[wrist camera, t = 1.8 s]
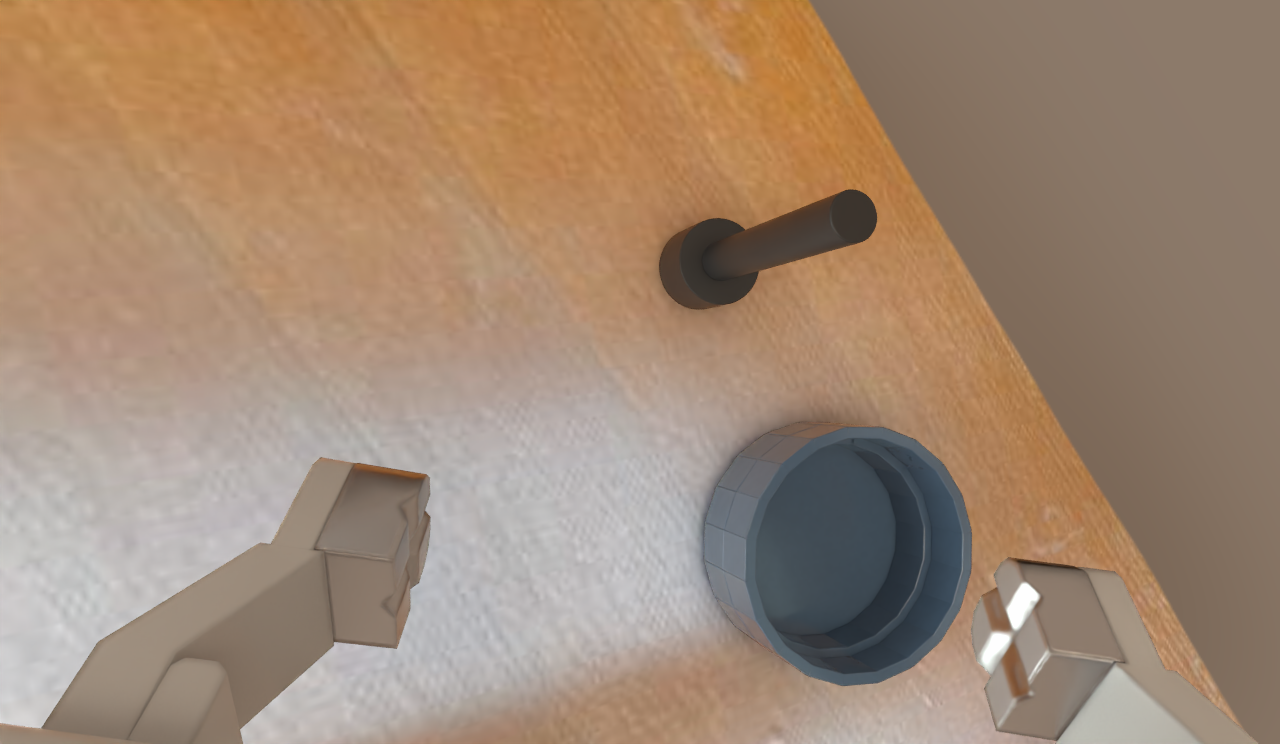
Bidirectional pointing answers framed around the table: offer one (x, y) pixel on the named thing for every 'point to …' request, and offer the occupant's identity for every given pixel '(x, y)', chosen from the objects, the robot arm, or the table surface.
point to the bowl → (839, 549)
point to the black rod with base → (758, 248)
